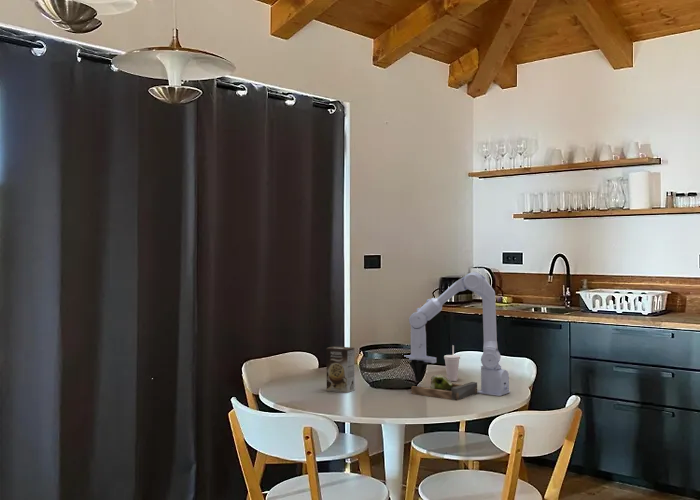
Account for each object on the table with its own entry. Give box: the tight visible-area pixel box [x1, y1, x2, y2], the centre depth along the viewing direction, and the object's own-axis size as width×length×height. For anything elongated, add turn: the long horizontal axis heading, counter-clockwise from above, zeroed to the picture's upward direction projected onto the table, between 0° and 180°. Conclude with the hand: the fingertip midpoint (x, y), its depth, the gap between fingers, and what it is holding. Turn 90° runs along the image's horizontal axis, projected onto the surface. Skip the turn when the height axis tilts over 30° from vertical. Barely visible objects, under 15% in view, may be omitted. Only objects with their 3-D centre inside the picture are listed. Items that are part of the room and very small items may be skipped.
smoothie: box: [443, 344, 461, 382], centre depth 272 cm, size 6×6×14 cm
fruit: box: [429, 374, 453, 391], centre depth 249 cm, size 9×9×8 cm
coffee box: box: [325, 345, 356, 394], centre depth 255 cm, size 9×6×16 cm
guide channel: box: [411, 381, 478, 401], centre depth 247 cm, size 19×14×4 cm
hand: (419, 380), depth 254 cm, fingers closed
